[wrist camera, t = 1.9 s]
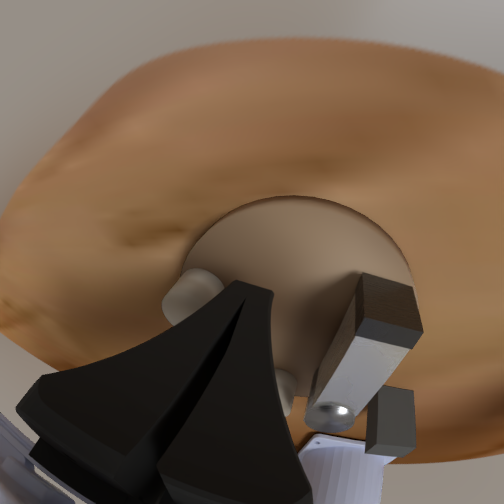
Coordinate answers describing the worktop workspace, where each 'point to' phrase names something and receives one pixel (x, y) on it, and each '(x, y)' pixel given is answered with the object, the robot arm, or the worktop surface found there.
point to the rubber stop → (391, 423)
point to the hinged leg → (363, 352)
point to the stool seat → (290, 274)
